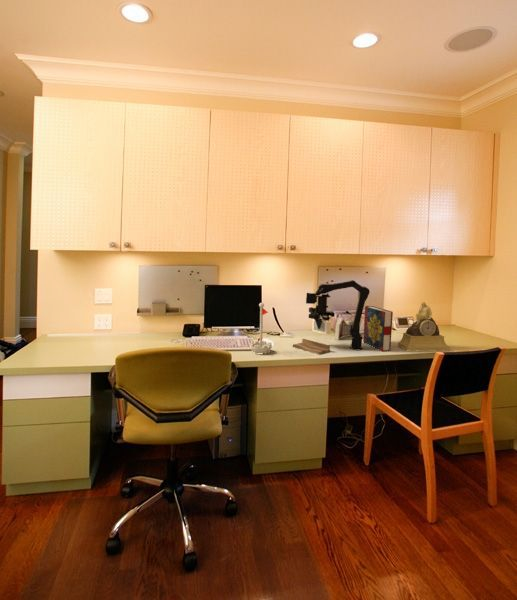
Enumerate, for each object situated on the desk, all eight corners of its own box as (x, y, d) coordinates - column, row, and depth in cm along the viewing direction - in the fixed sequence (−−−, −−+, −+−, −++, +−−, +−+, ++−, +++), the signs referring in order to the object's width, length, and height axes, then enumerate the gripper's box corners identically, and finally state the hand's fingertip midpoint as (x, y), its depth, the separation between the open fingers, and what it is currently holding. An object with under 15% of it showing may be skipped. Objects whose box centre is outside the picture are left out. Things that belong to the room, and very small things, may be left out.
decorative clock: (406, 351, 244) (410, 303, 240) (397, 346, 257) (400, 300, 253) (449, 350, 247) (453, 303, 243) (438, 345, 260) (442, 300, 256)
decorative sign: (349, 337, 289) (351, 317, 289) (352, 337, 288) (354, 317, 287) (334, 339, 271) (336, 318, 270) (337, 340, 270) (339, 318, 269)
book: (361, 342, 266) (362, 305, 263) (370, 341, 268) (372, 305, 264) (381, 351, 242) (383, 312, 238) (391, 351, 243) (393, 311, 240)
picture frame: (316, 330, 255) (316, 318, 254) (330, 333, 246) (331, 321, 245) (311, 331, 252) (312, 318, 251) (326, 334, 243) (326, 321, 242)
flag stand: (245, 351, 236) (246, 302, 232) (259, 348, 246) (260, 300, 242) (261, 356, 227) (262, 305, 223) (275, 352, 237) (277, 302, 233)
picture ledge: (303, 344, 256) (303, 338, 255) (329, 351, 239) (329, 345, 239) (292, 346, 249) (292, 340, 249) (318, 354, 233) (319, 347, 232)
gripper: (322, 301, 259) (321, 324, 261) (302, 303, 247) (301, 327, 249) (335, 303, 250) (334, 327, 252) (315, 305, 238) (314, 331, 240)
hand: (321, 328), depth 249 cm, fingers closed on picture frame, 4 cm apart
